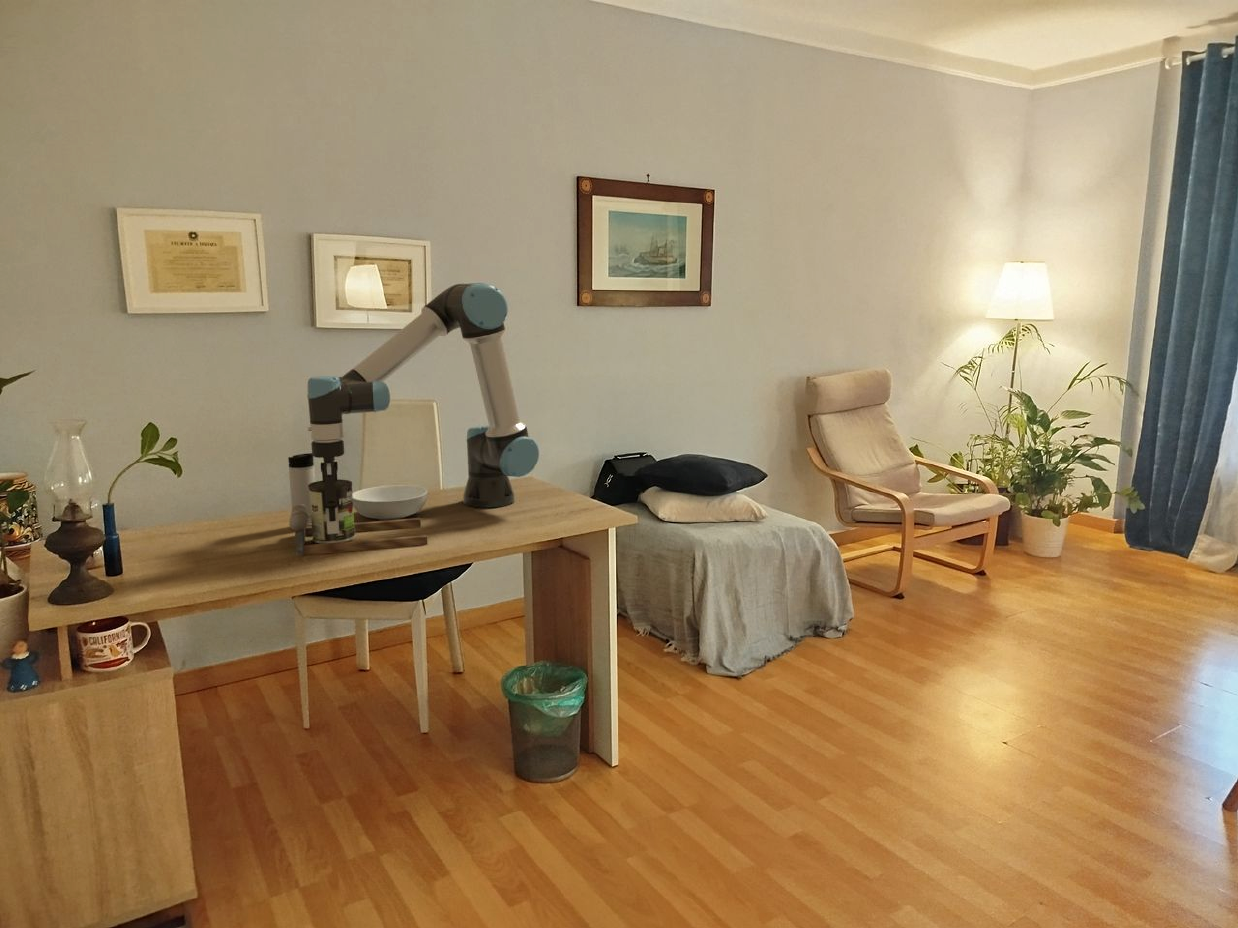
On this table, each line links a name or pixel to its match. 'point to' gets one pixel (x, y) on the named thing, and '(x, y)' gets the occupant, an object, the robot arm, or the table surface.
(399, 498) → the serving bowl
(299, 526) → the bay
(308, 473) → the travel mug
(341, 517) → the coffee can
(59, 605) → the table surface
